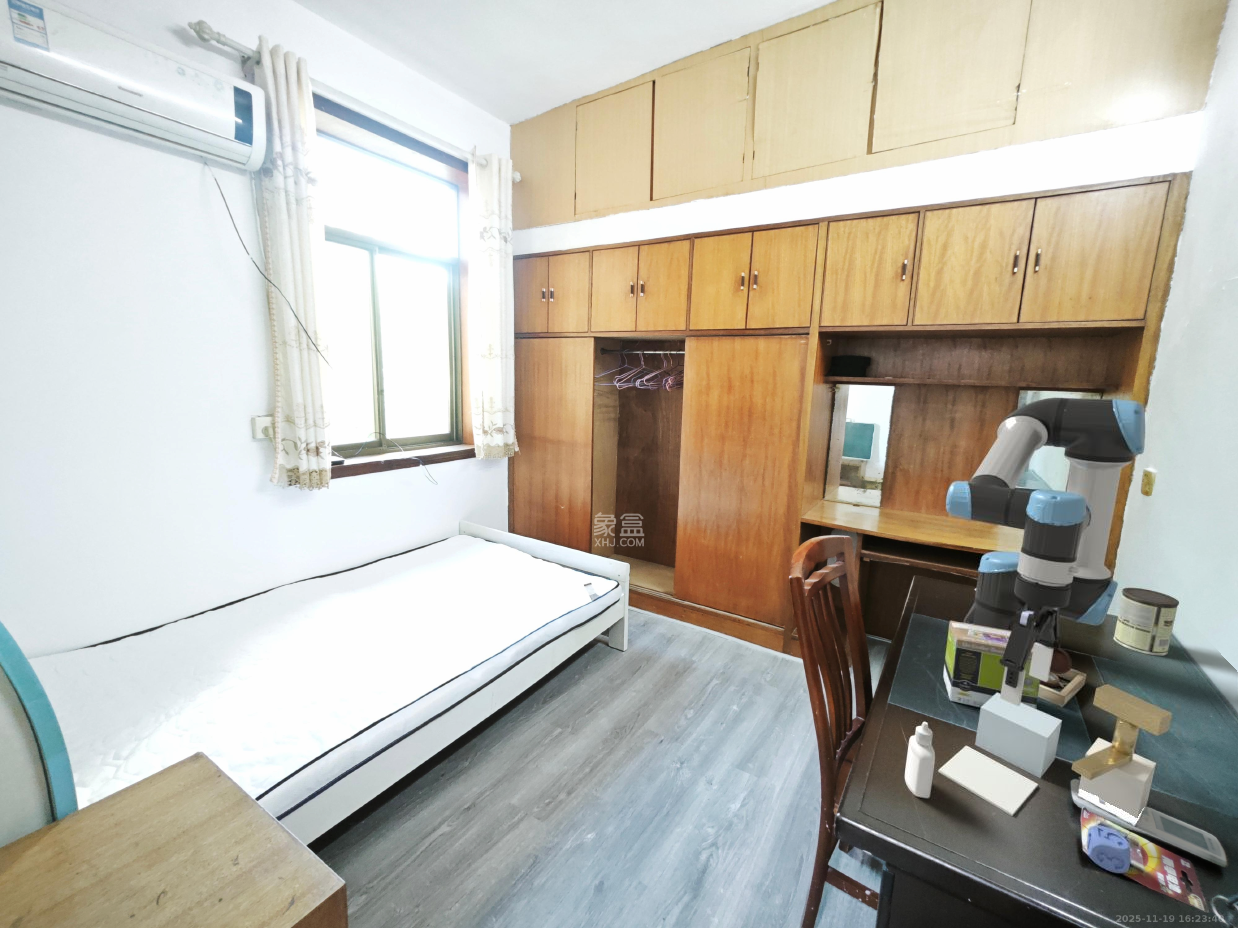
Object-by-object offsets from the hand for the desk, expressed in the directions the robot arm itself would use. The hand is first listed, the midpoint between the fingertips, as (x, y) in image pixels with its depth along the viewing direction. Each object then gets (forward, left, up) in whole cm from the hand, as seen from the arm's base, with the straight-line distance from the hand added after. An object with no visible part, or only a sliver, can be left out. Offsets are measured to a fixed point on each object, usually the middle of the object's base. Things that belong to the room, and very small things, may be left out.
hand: (1024, 689), depth 93 cm
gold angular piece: (+12, -4, -5) cm, 14 cm away
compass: (-4, +35, -13) cm, 37 cm away
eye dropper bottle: (-6, -24, -13) cm, 28 cm away
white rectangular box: (+13, 0, -13) cm, 19 cm away
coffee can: (+3, +75, -13) cm, 77 cm away
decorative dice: (+16, -15, -13) cm, 25 cm away
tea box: (-10, +14, -13) cm, 22 cm away
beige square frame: (-7, +32, -13) cm, 36 cm away
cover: (0, 0, -13) cm, 13 cm away
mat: (0, -12, -13) cm, 17 cm away
